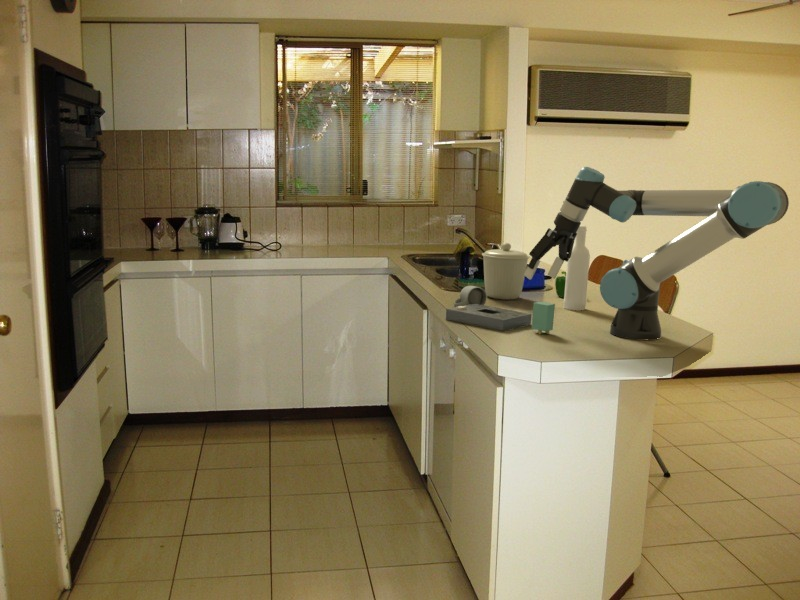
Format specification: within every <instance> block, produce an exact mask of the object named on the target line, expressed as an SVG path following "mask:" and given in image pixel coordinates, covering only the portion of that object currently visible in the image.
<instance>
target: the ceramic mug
mask: <svg viewBox="0 0 800 600" xmlns="http://www.w3.org/2000/svg"><path fill="white" fill-rule="evenodd" d="M459 293H460V294H459V298H457V299H456V300H454V301H453V306H454V307H459V306H465V305H471V304H480V305H486V302H487V297H488V296H487V294H486V292H485V288H483V287H480V286H474V285H466V286H464V287H463V288H462V289H461V291H460V292H459Z"/></svg>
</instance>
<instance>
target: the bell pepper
mask: <svg viewBox="0 0 800 600" xmlns="http://www.w3.org/2000/svg"><path fill="white" fill-rule="evenodd" d="M561 274H562V275H561V276H556V278H555V280H554V281H555V283H554V286H555V292H556V295H557V296H558V297H560V298H563V299H564V294H565V282H566V271H564V270H563V271H561Z"/></svg>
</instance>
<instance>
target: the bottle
mask: <svg viewBox="0 0 800 600" xmlns="http://www.w3.org/2000/svg"><path fill="white" fill-rule="evenodd" d="M576 233H577V235H576V237H575V240H574V245H573V249H572V253H571V257H570V258H569V260H568V261H567V262H566V271H565V272H566V282H565V294H564V298H563V303H562V304H563V309H564V310H569V311H575V310H576V311H579V312H581V310H582V311H584V310H586V305H587V294H588V293H587V292H588V281H589V271H590V270H589V269H590V260H591V255H590V251H589V249H588V247H586V238H587V237H586V235H587V226H586V225H581V224H580V226H579V228H578V230H577V232H576Z"/></svg>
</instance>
